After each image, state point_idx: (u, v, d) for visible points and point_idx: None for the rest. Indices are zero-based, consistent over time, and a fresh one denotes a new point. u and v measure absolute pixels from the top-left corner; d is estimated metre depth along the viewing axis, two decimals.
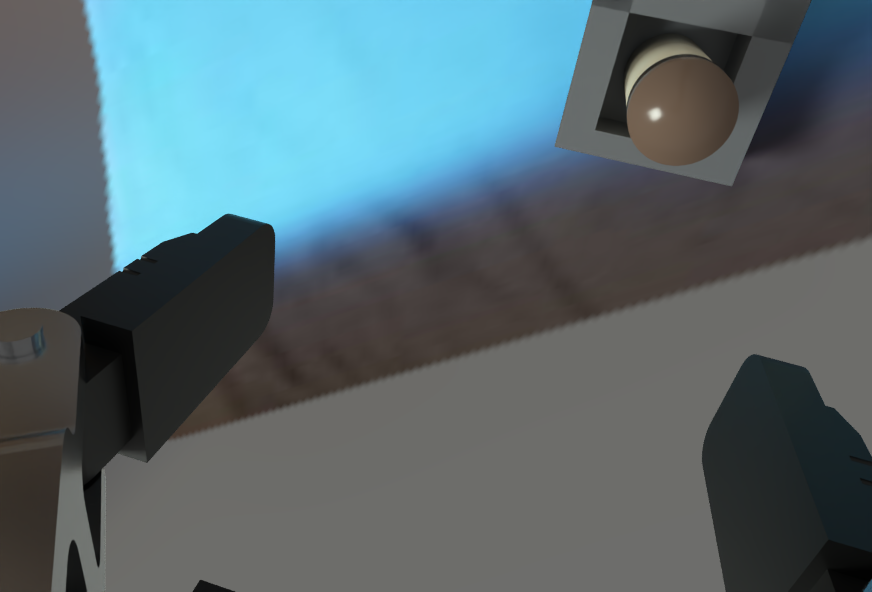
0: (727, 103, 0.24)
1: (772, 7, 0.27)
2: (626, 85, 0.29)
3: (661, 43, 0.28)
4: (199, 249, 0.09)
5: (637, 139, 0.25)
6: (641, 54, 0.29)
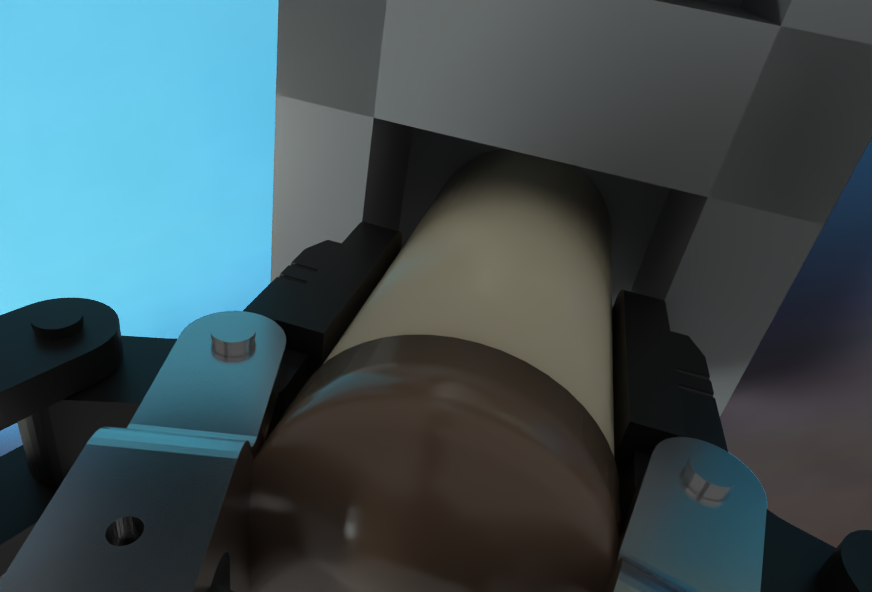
0: (575, 583, 0.06)
1: (767, 124, 0.09)
2: None
3: (466, 201, 0.10)
4: (351, 256, 0.10)
5: None
6: (423, 221, 0.11)
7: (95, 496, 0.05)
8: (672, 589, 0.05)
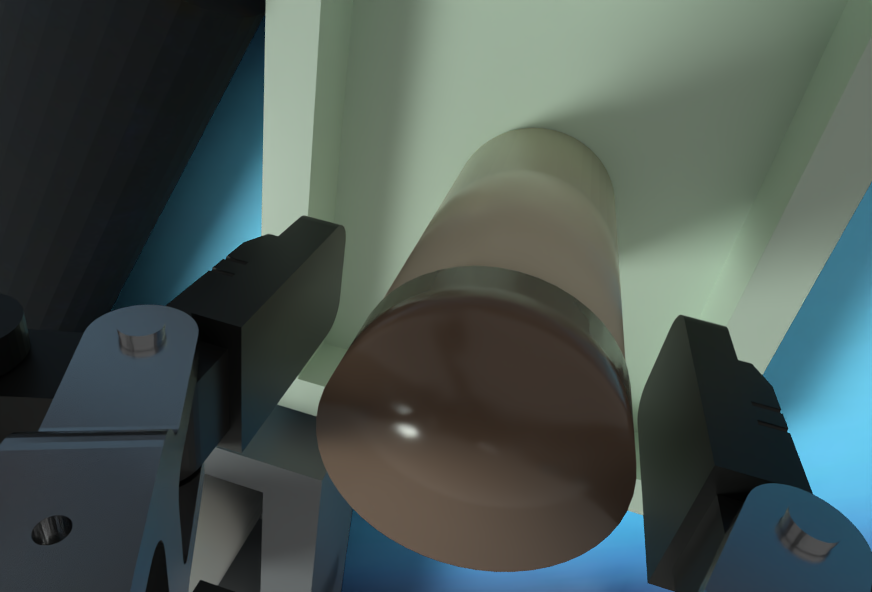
0: (600, 452, 0.07)
1: None
2: None
3: (492, 171, 0.12)
4: (285, 249, 0.09)
5: (358, 500, 0.09)
6: (453, 190, 0.13)
7: (15, 501, 0.04)
8: None
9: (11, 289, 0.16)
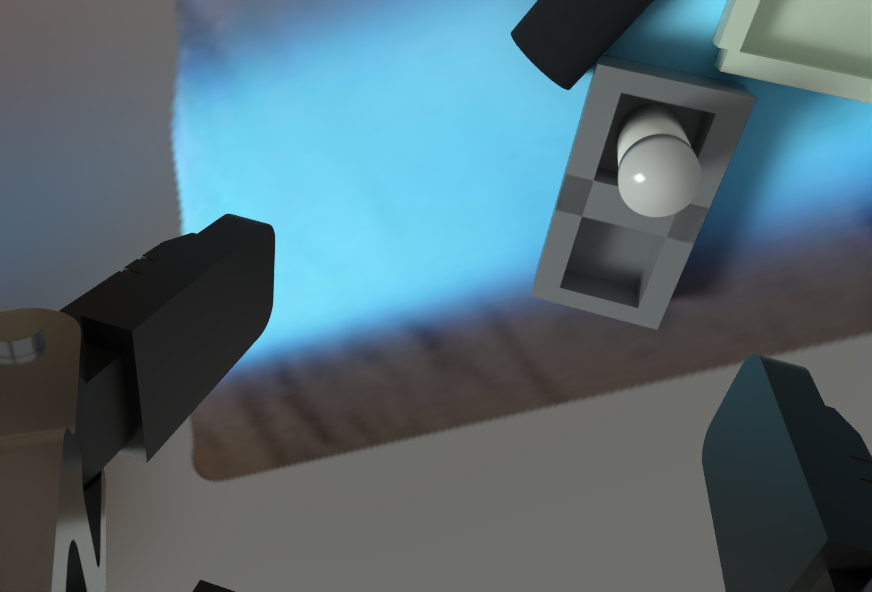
0: None
1: (679, 221, 0.39)
2: None
3: None
4: (199, 249, 0.09)
5: None
6: None
7: None
8: None
9: None
